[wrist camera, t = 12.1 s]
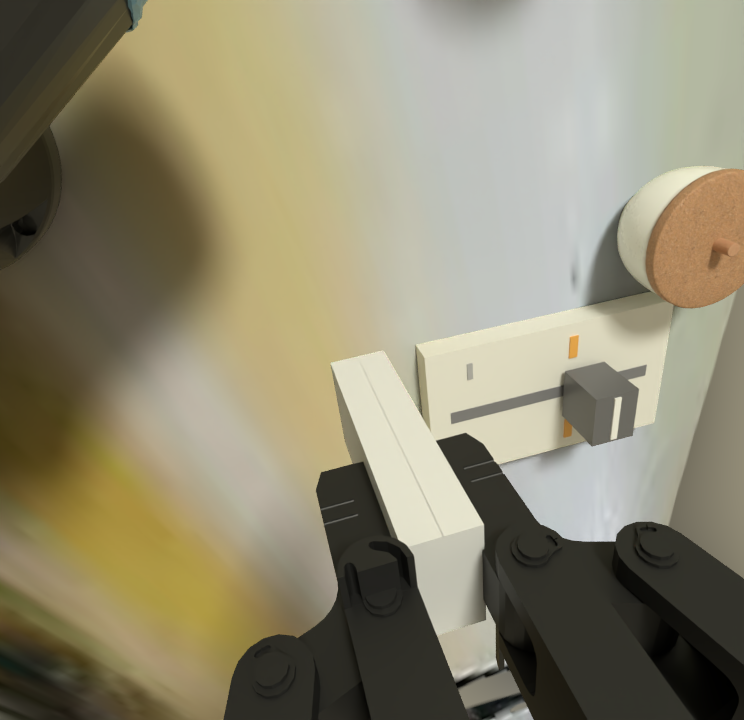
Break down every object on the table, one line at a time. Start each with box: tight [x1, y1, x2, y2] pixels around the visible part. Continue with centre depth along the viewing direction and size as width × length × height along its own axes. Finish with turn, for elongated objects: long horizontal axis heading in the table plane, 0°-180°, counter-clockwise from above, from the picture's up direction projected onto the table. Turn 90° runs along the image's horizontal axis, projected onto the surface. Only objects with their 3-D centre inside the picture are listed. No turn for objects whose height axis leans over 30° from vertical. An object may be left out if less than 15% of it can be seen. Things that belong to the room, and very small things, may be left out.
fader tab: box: [562, 362, 639, 446], centre depth 50 cm, size 4×5×5 cm
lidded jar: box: [617, 166, 744, 308], centre depth 45 cm, size 11×11×9 cm
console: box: [416, 291, 674, 464], centre depth 53 cm, size 24×14×3 cm, turn 97°
